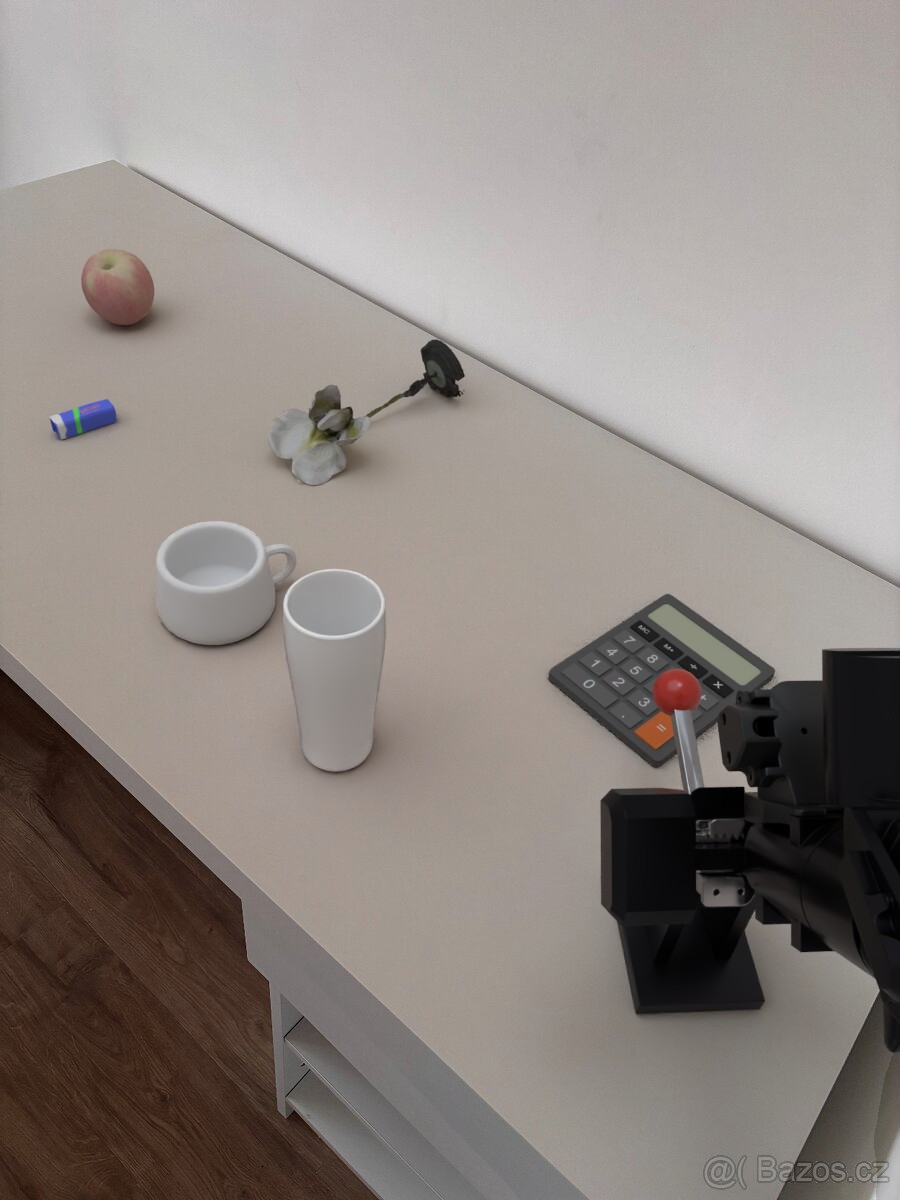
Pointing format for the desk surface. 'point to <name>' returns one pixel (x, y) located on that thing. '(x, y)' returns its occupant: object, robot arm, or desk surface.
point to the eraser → (83, 419)
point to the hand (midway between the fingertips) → (731, 819)
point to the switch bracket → (693, 963)
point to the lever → (681, 720)
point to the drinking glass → (335, 663)
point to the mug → (217, 582)
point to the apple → (118, 286)
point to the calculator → (657, 674)
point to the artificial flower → (348, 419)
